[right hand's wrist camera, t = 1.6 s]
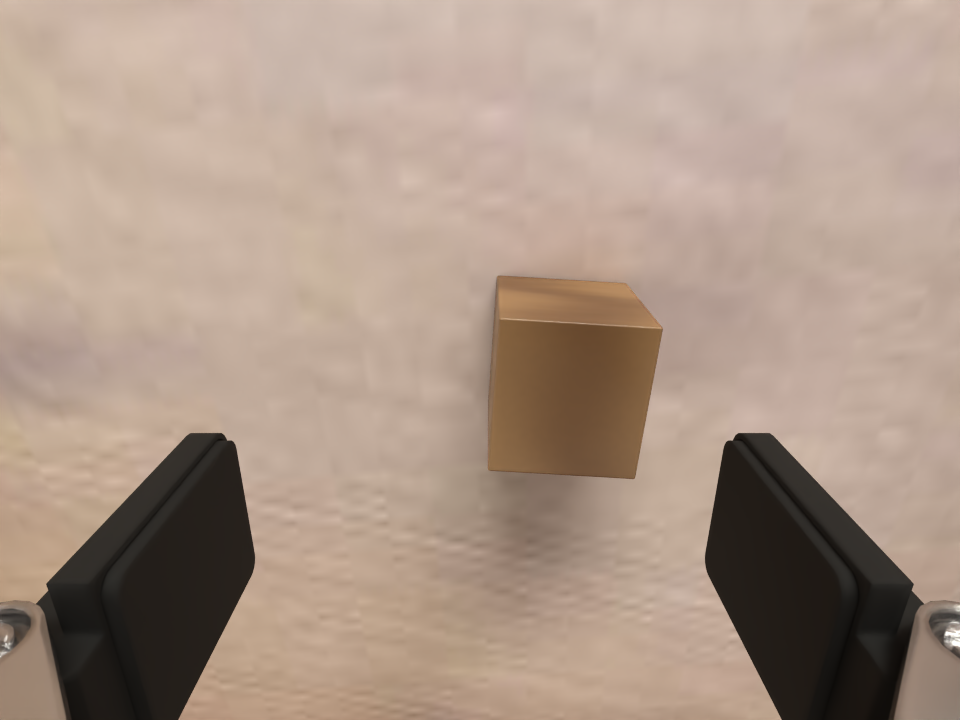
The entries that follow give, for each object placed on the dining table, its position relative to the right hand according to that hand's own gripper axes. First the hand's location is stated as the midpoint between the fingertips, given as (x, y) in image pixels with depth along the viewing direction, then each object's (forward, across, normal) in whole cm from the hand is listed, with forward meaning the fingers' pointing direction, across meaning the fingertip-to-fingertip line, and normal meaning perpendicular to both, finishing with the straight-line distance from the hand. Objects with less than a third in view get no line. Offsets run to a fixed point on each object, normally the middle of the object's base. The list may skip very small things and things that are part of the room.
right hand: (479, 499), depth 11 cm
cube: (+8, +2, 0) cm, 9 cm away
